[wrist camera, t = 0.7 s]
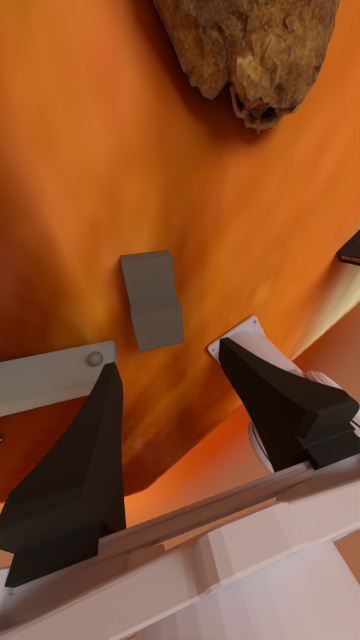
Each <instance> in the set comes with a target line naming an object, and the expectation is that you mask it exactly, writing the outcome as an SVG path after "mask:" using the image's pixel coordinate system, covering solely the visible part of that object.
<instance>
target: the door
mask: <svg viewBox="0 0 360 640" xmlns="http://www.w3.org/2000/svg"><path fill="white" fill-rule="evenodd" d="M116 359H117V346H116V343H115V340H110V341H105V342H100V343H95V344H90V345H85V346H80V347H75V348H70V349H65V350H60V351H55V352H50V353H45V354H40V355H35V356H30V357H25V358H20V359H15V360H10V361H5V362H0V417H1V416H5V415H9V414H13V413H17V412H21V411H25V410H29V409H33V408H37V407H41V406H45V405H49V404H53V403H57V402H62V401H66V400H70V399H74V398H78V397H82V396H86V395H89V394H90V392H91V391H92V389H93V387H94V385H95V383H96V381H97V379H98V377H99V375H100V373H101V371H102V368H103V366H104V365H105V364H107V363H111V362H115V363H116Z"/></svg>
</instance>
